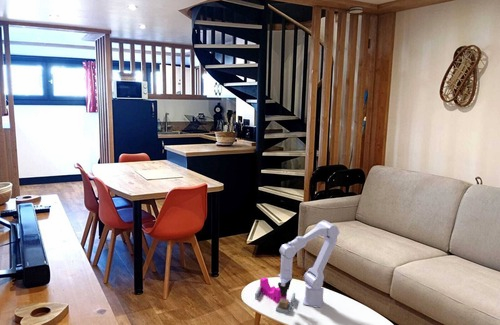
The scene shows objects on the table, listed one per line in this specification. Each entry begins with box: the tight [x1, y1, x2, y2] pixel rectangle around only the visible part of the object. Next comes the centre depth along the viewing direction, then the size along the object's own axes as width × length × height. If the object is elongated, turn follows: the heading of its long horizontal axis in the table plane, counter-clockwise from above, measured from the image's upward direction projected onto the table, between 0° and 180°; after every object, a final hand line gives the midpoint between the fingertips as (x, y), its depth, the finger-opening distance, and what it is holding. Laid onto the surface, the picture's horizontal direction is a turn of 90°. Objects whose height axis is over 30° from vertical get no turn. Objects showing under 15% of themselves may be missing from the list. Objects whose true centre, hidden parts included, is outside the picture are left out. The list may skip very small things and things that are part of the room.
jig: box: [254, 286, 296, 314], centre depth 206 cm, size 20×16×3 cm
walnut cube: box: [279, 298, 289, 310], centre depth 200 cm, size 4×4×4 cm
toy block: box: [259, 276, 288, 305], centre depth 212 cm, size 15×6×8 cm, turn 37°
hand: (285, 292), depth 199 cm, fingers open, 7 cm apart
